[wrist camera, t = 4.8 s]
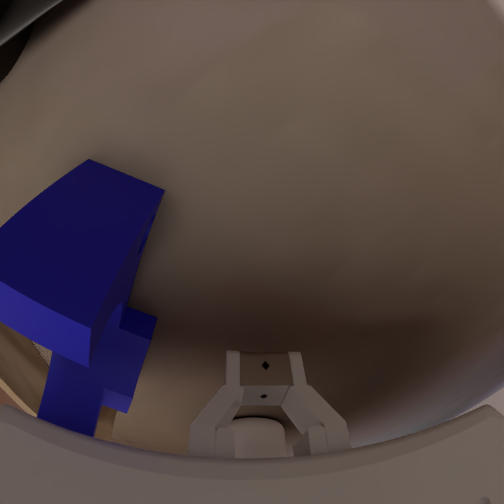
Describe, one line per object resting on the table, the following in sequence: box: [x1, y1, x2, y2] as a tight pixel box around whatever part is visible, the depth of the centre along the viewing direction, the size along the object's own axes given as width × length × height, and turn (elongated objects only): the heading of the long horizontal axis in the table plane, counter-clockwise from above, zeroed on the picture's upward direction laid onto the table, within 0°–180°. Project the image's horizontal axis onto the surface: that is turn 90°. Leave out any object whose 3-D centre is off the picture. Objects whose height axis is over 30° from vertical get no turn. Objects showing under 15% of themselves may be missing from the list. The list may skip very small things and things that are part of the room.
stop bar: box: [0, 322, 117, 442], centre depth 10 cm, size 6×24×4 cm, turn 174°
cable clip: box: [0, 159, 165, 437], centre depth 9 cm, size 12×4×6 cm, turn 152°
